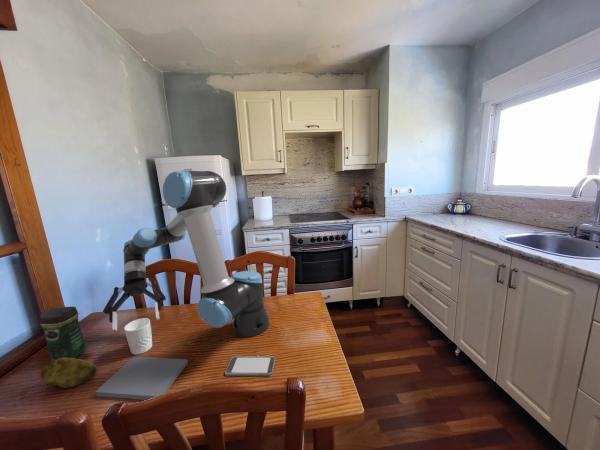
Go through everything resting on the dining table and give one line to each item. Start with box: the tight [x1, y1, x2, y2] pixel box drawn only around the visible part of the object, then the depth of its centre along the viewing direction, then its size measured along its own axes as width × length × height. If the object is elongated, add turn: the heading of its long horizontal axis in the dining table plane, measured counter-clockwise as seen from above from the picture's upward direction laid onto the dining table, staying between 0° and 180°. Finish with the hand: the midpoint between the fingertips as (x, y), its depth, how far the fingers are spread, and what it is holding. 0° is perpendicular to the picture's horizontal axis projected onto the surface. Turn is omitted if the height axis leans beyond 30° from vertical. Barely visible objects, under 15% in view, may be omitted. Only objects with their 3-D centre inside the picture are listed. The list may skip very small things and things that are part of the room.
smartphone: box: [224, 356, 276, 377], centre depth 78 cm, size 7×1×15 cm
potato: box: [40, 357, 97, 388], centre depth 75 cm, size 8×13×8 cm, turn 82°
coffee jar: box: [38, 306, 87, 362], centre depth 86 cm, size 10×8×19 cm
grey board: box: [94, 356, 189, 401], centre depth 75 cm, size 20×14×2 cm
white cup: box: [123, 317, 153, 356], centre depth 89 cm, size 8×8×10 cm
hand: (136, 324), depth 91 cm, fingers open, 13 cm apart
